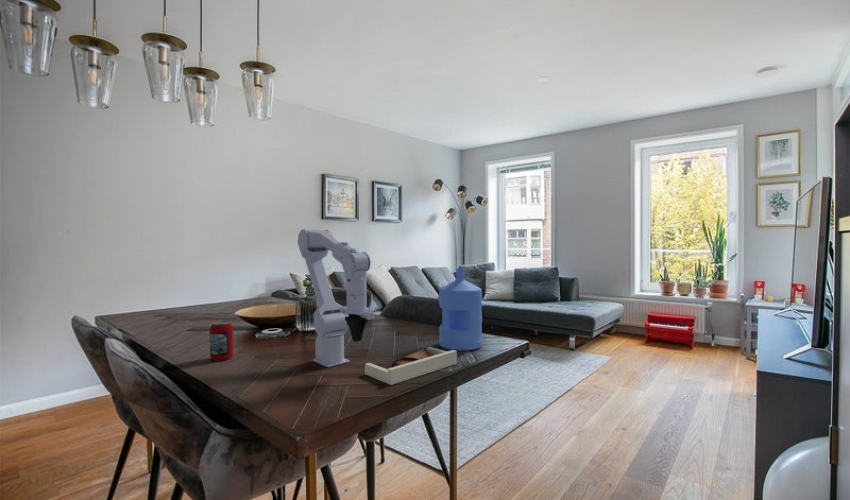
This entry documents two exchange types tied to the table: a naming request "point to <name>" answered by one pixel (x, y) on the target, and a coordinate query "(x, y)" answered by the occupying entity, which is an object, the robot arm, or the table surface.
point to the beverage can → (221, 340)
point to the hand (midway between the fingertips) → (357, 340)
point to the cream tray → (413, 367)
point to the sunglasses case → (412, 357)
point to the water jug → (460, 314)
